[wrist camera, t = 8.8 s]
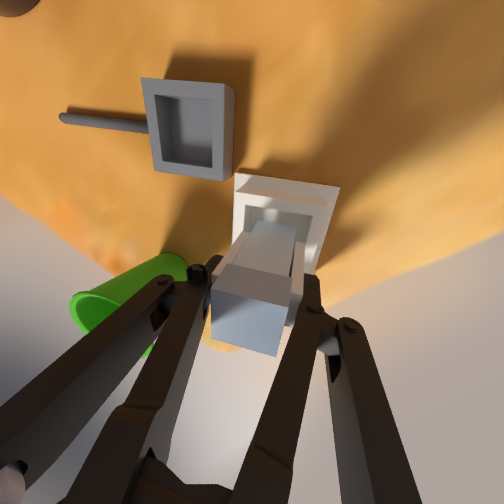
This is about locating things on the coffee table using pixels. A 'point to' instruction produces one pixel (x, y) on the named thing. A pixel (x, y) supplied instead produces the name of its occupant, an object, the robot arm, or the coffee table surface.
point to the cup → (122, 291)
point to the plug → (255, 291)
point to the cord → (104, 122)
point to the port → (285, 209)
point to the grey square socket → (190, 127)
